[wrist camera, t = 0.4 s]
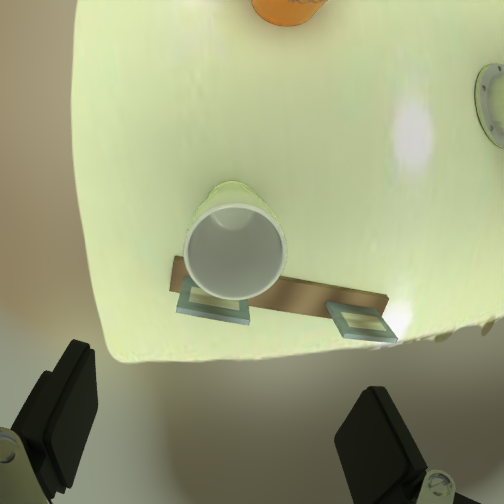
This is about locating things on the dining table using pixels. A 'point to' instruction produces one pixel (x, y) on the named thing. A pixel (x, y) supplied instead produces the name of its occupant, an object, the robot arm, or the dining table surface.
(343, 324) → the stand
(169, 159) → the dining table surface
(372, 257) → the dining table surface
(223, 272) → the drinking glass
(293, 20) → the shaker bottle
